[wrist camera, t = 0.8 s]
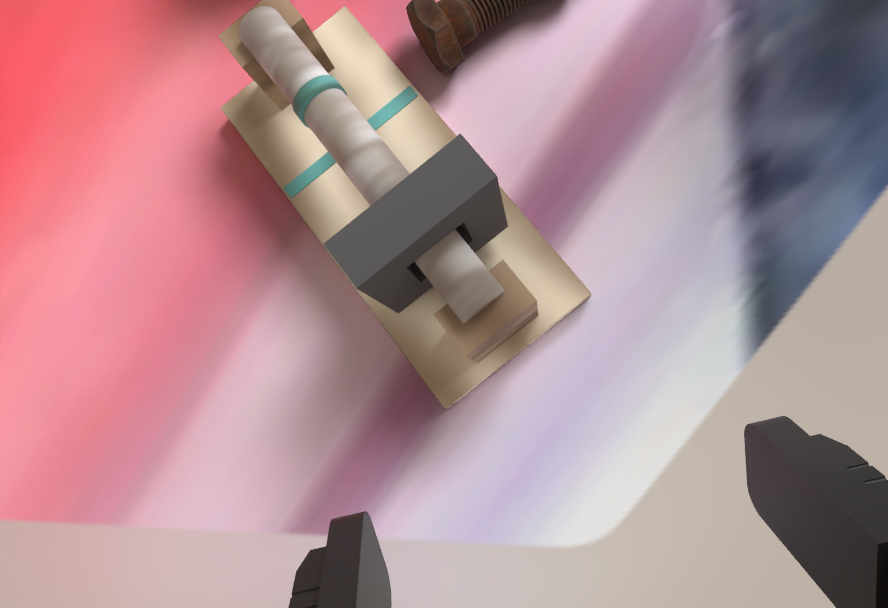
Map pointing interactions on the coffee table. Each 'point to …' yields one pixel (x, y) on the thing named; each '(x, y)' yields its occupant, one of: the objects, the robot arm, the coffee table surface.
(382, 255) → the dark grey slider block
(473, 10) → the bolt
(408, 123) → the pipe stand
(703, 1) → the coffee table surface
